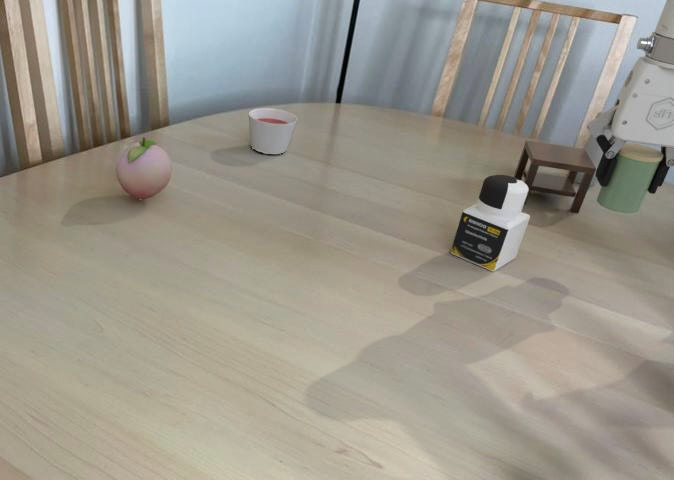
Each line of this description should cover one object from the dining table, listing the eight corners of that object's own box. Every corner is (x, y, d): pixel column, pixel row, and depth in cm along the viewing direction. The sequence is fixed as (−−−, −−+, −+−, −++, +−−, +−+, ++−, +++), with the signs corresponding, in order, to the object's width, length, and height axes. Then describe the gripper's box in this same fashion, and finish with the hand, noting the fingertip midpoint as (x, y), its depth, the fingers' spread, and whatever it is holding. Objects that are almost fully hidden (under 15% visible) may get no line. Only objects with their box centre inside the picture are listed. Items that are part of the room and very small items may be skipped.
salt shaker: (570, 184, 139) (596, 114, 131) (565, 173, 143) (590, 105, 136) (603, 189, 138) (631, 119, 130) (596, 178, 142) (624, 110, 135)
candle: (269, 138, 146) (273, 105, 142) (301, 153, 140) (307, 119, 137) (235, 145, 141) (238, 112, 137) (267, 161, 135) (272, 126, 132)
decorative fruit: (163, 216, 113) (166, 152, 107) (110, 208, 113) (111, 144, 108) (174, 192, 120) (178, 131, 115) (125, 185, 121) (126, 124, 115)
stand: (568, 191, 135) (584, 149, 131) (578, 213, 127) (596, 168, 123) (511, 182, 137) (525, 140, 132) (518, 203, 129) (533, 158, 124)
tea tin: (634, 200, 108) (657, 146, 103) (644, 216, 103) (668, 160, 99) (592, 194, 109) (612, 140, 104) (600, 209, 104) (622, 154, 100)
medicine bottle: (448, 253, 110) (472, 176, 103) (472, 241, 114) (496, 166, 108) (493, 273, 106) (520, 194, 99) (515, 259, 110) (543, 182, 104)
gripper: (615, 50, 92) (565, 187, 103) (766, 68, 90) (699, 206, 100) (602, 38, 98) (556, 168, 109) (743, 53, 96) (682, 185, 106)
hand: (625, 185), depth 104 cm, fingers closed on tea tin, 5 cm apart
